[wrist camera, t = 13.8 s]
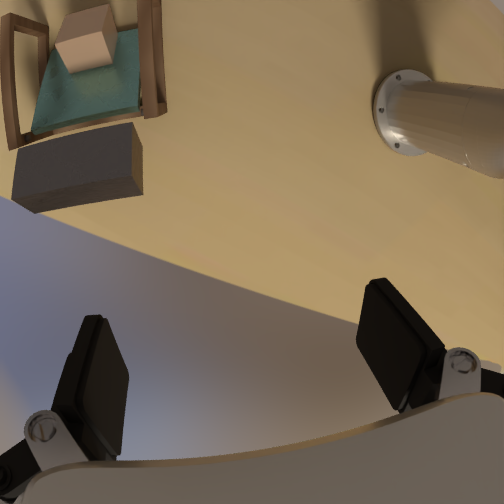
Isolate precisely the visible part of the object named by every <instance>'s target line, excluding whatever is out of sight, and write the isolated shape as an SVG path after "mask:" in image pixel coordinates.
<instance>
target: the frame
mask: <svg viewBox="0 0 504 504" xmlns="http://www.w3.org/2000/svg"><path fill="white" fill-rule="evenodd" d="M137 11H138V43H139V63H140V78H141V91H142V103H143V106H140V112H134V113H128V114H123V115H117V116H112V117H107V118H102V119H97V120H93V121H88V122H84V123H79V124H75V125H71V126H67V127H63V128H59V129H55V130H52V131H48V132H44V133H41V134H37V135H34V134H33V132H32V131H31V132H28V133H25V134H21V133H20V126H19V118H18V109H17V99H16V86H15V68H14V31H18V32H22V33H25V34H29V35H33V36H36V37H38V64H39V81H40V88H41V85H42V81H43V77H44V74H45V71H46V67H47V64H48V61H49V27H48V26H46V25H43V24H41V23H38V22H35V21H33V20H30V19H27V18H24V17H22V16H19V15H16V14H13V13H8V14H6V15H4V16H2V17H1V26H0V73H1V91H2V103H3V113H4V121H5V129H6V136H7V143H8V149H9V151H10V150H13V149H16V148H19V147H22V146H24V145H27V144H29V143H32V142H35V141H37V140H40V139H43V138H46V137H49V136H51V135H54V134H58V133H62V132H66V131H70V130H74V129H79V128H83V127H88V126H92V125H97V124H102V123H107V122H112V121H117V120H122V119H128V118H134V117H140V116H144V119H148V118H154V117H159V116H161V115H163V114H165V113H167V101H166V88H165V74H164V58H163V38H162V10H161V0H137Z"/></svg>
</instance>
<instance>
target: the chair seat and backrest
mask: <svg viewBox="0 0 504 504" xmlns="http://www.w3.org/2000/svg"><path fill="white" fill-rule="evenodd" d="M117 33H118V38H117V43H116V48H115V54H114V60H113V64H109V65H105V66H100V67H96V68H92V69H88V70H84V71H80V72H76V73H72V74H70V73H69V71H68V70H67V68H66V66H65V64H64V62H63V60H62V58H61V56H60V54H59V52H58V50H57V49H54V50H52V52H51V55H50V58H49V61H48V64H47V67H46V71H45V74H44V77H43V81H42V85H41V88H40V92H39V96H38V100H37V104H36V108H35V113H34V117H33V122H32V127H31V131H32V132H33V134H34V135H37V134H41V133H44V132H48V131H52V130H55V129H59V128H63V127H67V126H71V125H75V124H79V123H84V122H88V121H93V120H97V119H102V118H107V117H112V116H117V115H123V114H128V113H134V112H140V91H141V78H140V63H139V43H138V28H137V29H132V30H127V31H122V32H117ZM140 195H143V146H142V144H141V142H140V139H139V137H138V134H137V132H136V129H135V127H134V124H133V122H130V123H124V124H119V125H114V126H108V127H103V128H98V129H94V130H89V131H84V132H80V133H76V134H71V135H67V136H63V137H59V138H55V139H51V140H48V141H44V142H40V143H37V144H33V145H30V146H26V147H23V148H20V149H18V153H17V159H16V165H15V172H14V180H13V188H12V198H11V200H13V201H14V202H16V203H18V204H19V205H21V206H23V207H24V208H26V209H27V210H29V211H31V212H33V213H34V214H36V213H40V212H45V211H51V210H56V209H61V208H67V207H72V206H78V205H83V204H89V203H95V202H101V201H107V200H113V199H120V198H127V197H133V196H140Z"/></svg>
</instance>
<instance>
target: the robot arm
mask: <svg viewBox="0 0 504 504" xmlns="http://www.w3.org/2000/svg"><path fill="white" fill-rule="evenodd" d="M379 109H380V110H379ZM373 114H374V121H375V125H376V128H377V131H378V133H379V135H380V137H381V138H382V140H383V141H384V142H385V143H386V144H387V145H388V146H389V148H391V149H392V150H394V151H395V152H398V153H400V154H403V155H406V156H418V155H422V154H424V153H426V152H429V153H432V154H435V155H437V156H440V157H443V158H445V159H448V160H450V161H453V162H455V163H458V164H460V165H463V166H465V167H468V168H470V169H472V170H475V171H477V172H480V173H482V174H485V175H487V176H489V177H493V178H498V179H504V89H500V88H493V87H484V86H476V85H468V84H458V83H448V82H435V81H432V80H431V79H430V78H429V77H428V76H427V75H425V74H423V73H422V72H419V71H416V70H410V69H404V70H398V71H395V72H393V73H391V74H389V75H388V76H387V77H386V78H385V79H384V80H383V81H382V82H381V84H380V85H379V87H378V89H377V92H376V94H375V99H374V105H373ZM356 344H357V347H358V348H359V350H360V352H361V354H362V355H363V357H364V359H365V360H366V362H367V364H368V366H369V367H370V369H371V371H372V372H373V374H374V376H375V378H376V379H377V381H378V383H379V385H380V386H381V388H382V390H383V392H384V393H385V395H386V397H387V399H388V400H389V402H390V404H391V406H392V408H393V409H394V410H398V412H399V413H400V414H398V415H394V416H391V417H389V418H386V419H383V420H380V421H376V422H374V423H370V424H367V425H364V426H360V427H357V428H354V429H350V430H347V431H343V432H339V433H336V434H332V435H328V436H324V437H320V438H316V439H312V440H307V441H303V442H298V443H294V444H289V445H284V446H278V447H273V448H267V449H261V450H255V451H249V452H242V453H234V454H226V455H218V456H208V457H198V458H184V459H167V460H138V461H137V460H135V461H116V457H117V455H120V454H121V446H122V436H123V425H124V416H125V406H126V398H127V390H128V383H129V373H128V370H127V367H126V365H125V363H124V360H123V358H122V355H121V353H120V350H119V348H118V345H117V343H116V340H115V338H114V335H113V333H112V330H111V328H110V325H109V322H108V320H107V319H106V318H103V317H102V316H101V315H87V316H85V318H84V320H83V323H82V325H81V328H80V331H79V333H78V336H77V339H76V341H75V344H74V347H73V350H72V353H70V354H69V355H68V357H67V360H66V362H65V365H64V369H63V372H62V375H61V378H60V381H59V384H58V388H57V390H56V394H55V397H54V400H53V404H52V408H51V411H50V410H42V411H38V412H36V413H34V414H33V415H32V416H30V417H29V419H28V420H27V421H26V424H25V427H24V435H25V439H24V440H22V441H21V442H19V443H18V444H16V445H15V446H14V447H12V448H11V449H9V450H8V451H6V452H5V453H3V454H2V455H1V456H0V504H504V374H501V373H497V372H494V371H490V370H487V369H483V368H481V363H480V360H479V358H478V356H477V355H476V354H475V353H473V352H472V351H470V350H468V349H465V348H460V347H457V348H452V349H450V350H449V351H448V352H447V350H446V349H445V348H444V347H445V345H444V344H443V343H442V341H441V340H440V339H439V338H438V337H437V335H436V334H435V333H434V332H433V331H432V329H431V328H430V327H429V326H428V325H427V323H426V322H425V321H424V320H423V319H422V318H421V316H420V315H419V314H418V313H417V312H416V311H415V310H414V308H413V307H412V306H411V305H410V304H409V303H408V302H407V300H406V299H405V298H404V297H403V296H402V295H401V294H400V293H399V291H398V290H397V289H396V288H395V287H394V286H393V285H392V284H391V283H390V282H389V280H388V279H386V278H379V279H373V280H371V281H370V282H369V284H367V285H366V287H365V293H364V299H363V304H362V310H361V315H360V321H359V326H358V331H357V336H356Z"/></svg>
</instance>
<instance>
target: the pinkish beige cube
mask: <svg viewBox="0 0 504 504" xmlns="http://www.w3.org/2000/svg"><path fill="white" fill-rule="evenodd" d="M117 38H118V33H117V29H116V26H115V22H114V19H113V15H112V12H111V8H110V4H105V5H101V6H97V7H93V8H90V9H86V10H82V11H79V12H75V13H72V14H69V15H66V16H65V18H64V21H63V23H62V26H61V28H60V31H59V33H58V36H57V39H56V42H55V46H56V48H57V50H58V52H59V54H60V56H61V58H62V60H63V62H64V64H65V66H66V68H67V70H68V71H69V73H70V74H72V73H76V72H80V71H84V70H88V69H92V68H96V67H100V66H105V65H109V64H113V60H114V54H115V48H116V43H117Z"/></svg>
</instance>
